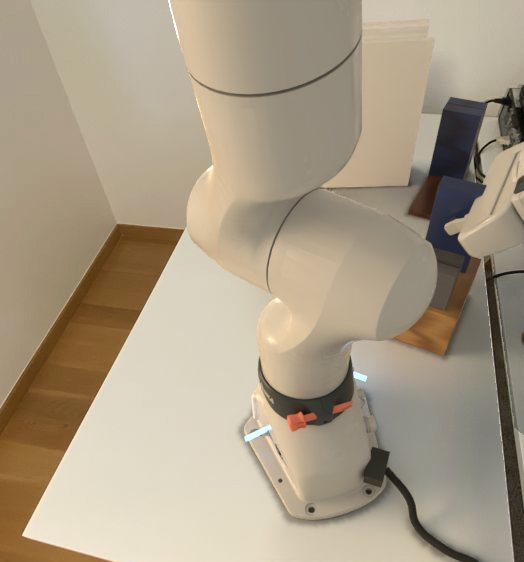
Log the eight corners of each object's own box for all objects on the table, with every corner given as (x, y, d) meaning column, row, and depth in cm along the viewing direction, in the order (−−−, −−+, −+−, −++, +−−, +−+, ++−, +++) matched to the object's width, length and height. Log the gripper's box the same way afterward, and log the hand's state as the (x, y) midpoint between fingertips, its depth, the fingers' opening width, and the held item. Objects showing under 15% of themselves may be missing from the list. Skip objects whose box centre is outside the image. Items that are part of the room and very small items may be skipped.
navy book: (469, 263, 78) (496, 187, 66) (464, 273, 77) (491, 197, 65) (424, 251, 80) (443, 175, 69) (420, 260, 79) (438, 185, 68)
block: (241, 189, 108) (223, 51, 85) (245, 167, 112) (228, 30, 90) (407, 185, 104) (434, 39, 82) (404, 163, 109) (428, 19, 86)
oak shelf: (467, 297, 85) (482, 258, 78) (443, 355, 79) (457, 319, 71) (410, 280, 89) (419, 241, 81) (383, 334, 82) (390, 297, 75)
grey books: (452, 293, 74) (465, 256, 68) (444, 311, 73) (457, 274, 66) (413, 281, 76) (422, 244, 70) (404, 298, 75) (413, 261, 68)
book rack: (468, 171, 106) (489, 101, 93) (443, 223, 97) (462, 153, 85) (435, 164, 108) (451, 94, 96) (407, 213, 99) (421, 144, 87)
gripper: (556, 110, 65) (461, 161, 76) (520, 203, 55) (417, 246, 66) (578, 149, 67) (483, 193, 78) (548, 245, 57) (443, 279, 68)
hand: (452, 218), depth 72 cm, fingers open, 3 cm apart
